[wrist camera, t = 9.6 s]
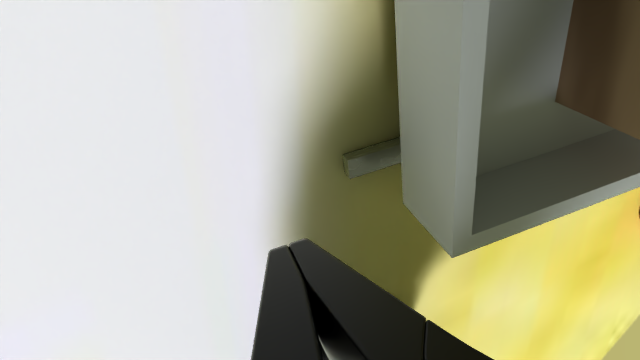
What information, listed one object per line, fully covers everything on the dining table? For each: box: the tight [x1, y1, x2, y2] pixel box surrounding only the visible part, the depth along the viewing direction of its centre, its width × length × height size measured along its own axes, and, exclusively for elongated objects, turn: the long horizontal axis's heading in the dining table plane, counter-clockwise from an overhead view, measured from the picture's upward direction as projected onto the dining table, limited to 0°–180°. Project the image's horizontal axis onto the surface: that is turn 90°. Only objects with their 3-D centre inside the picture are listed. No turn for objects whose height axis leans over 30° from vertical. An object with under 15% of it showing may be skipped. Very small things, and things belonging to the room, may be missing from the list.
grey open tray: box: [394, 0, 640, 258], centre depth 17 cm, size 19×12×6 cm, turn 98°
